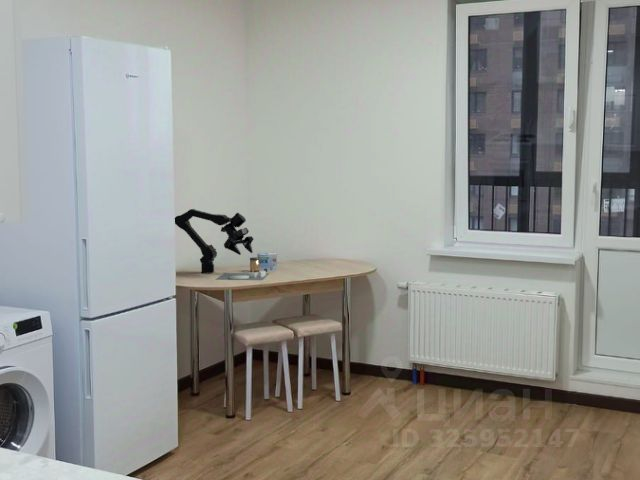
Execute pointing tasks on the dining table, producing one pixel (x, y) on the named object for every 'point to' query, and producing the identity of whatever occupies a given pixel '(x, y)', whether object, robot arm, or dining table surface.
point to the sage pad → (239, 277)
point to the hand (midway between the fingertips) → (246, 253)
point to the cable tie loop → (256, 274)
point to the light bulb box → (267, 262)
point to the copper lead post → (254, 264)
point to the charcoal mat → (226, 275)
